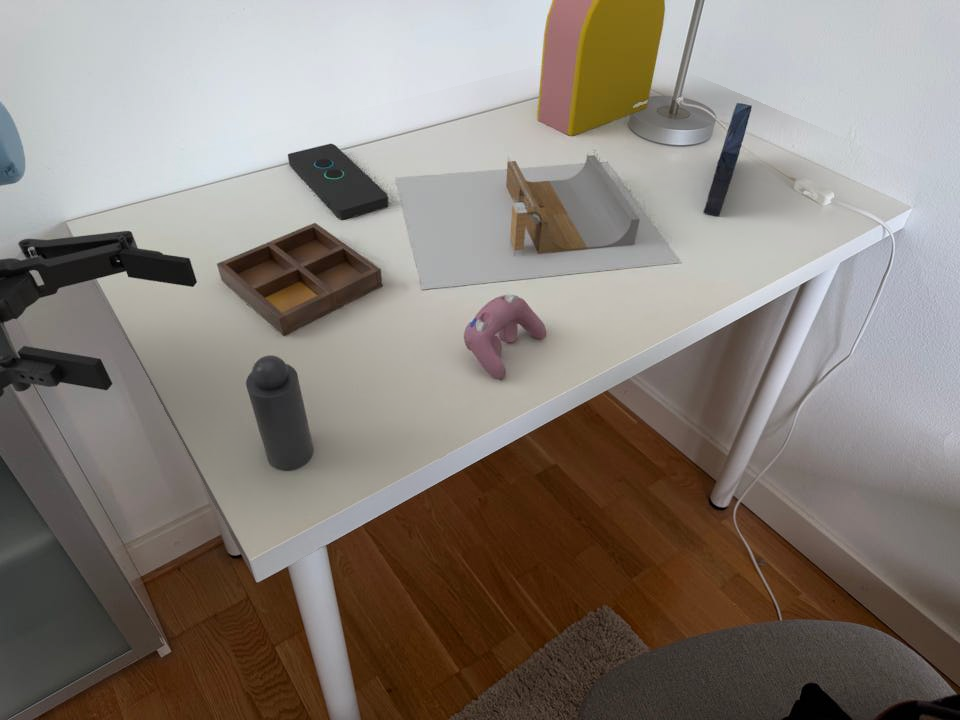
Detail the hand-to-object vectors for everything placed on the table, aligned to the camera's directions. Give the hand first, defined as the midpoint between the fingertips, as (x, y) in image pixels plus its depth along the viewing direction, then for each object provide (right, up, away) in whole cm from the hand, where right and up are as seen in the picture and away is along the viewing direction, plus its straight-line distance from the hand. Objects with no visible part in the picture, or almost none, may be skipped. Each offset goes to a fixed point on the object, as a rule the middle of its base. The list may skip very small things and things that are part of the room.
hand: (151, 319), depth 58 cm
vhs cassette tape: (+65, +23, +50) cm, 85 cm away
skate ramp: (+34, +17, +42) cm, 57 cm away
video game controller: (+30, -2, +21) cm, 37 cm away
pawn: (+9, -12, +9) cm, 18 cm away
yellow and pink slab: (+49, +42, +69) cm, 95 cm away
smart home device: (+6, +23, +48) cm, 53 cm away
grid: (+5, +6, +29) cm, 30 cm away
